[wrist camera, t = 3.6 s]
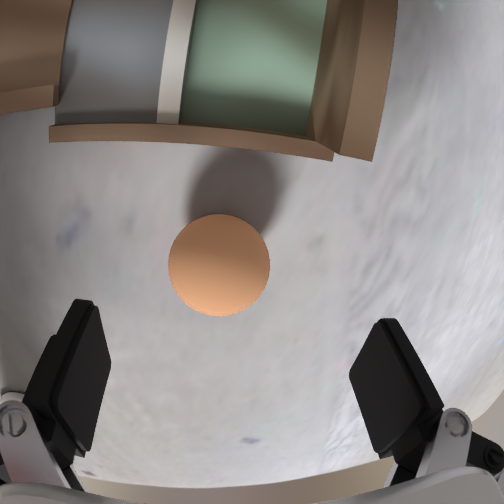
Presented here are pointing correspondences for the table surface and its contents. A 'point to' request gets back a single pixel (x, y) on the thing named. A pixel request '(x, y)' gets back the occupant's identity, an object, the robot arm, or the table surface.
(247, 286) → the ball
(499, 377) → the table surface
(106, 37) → the lane
